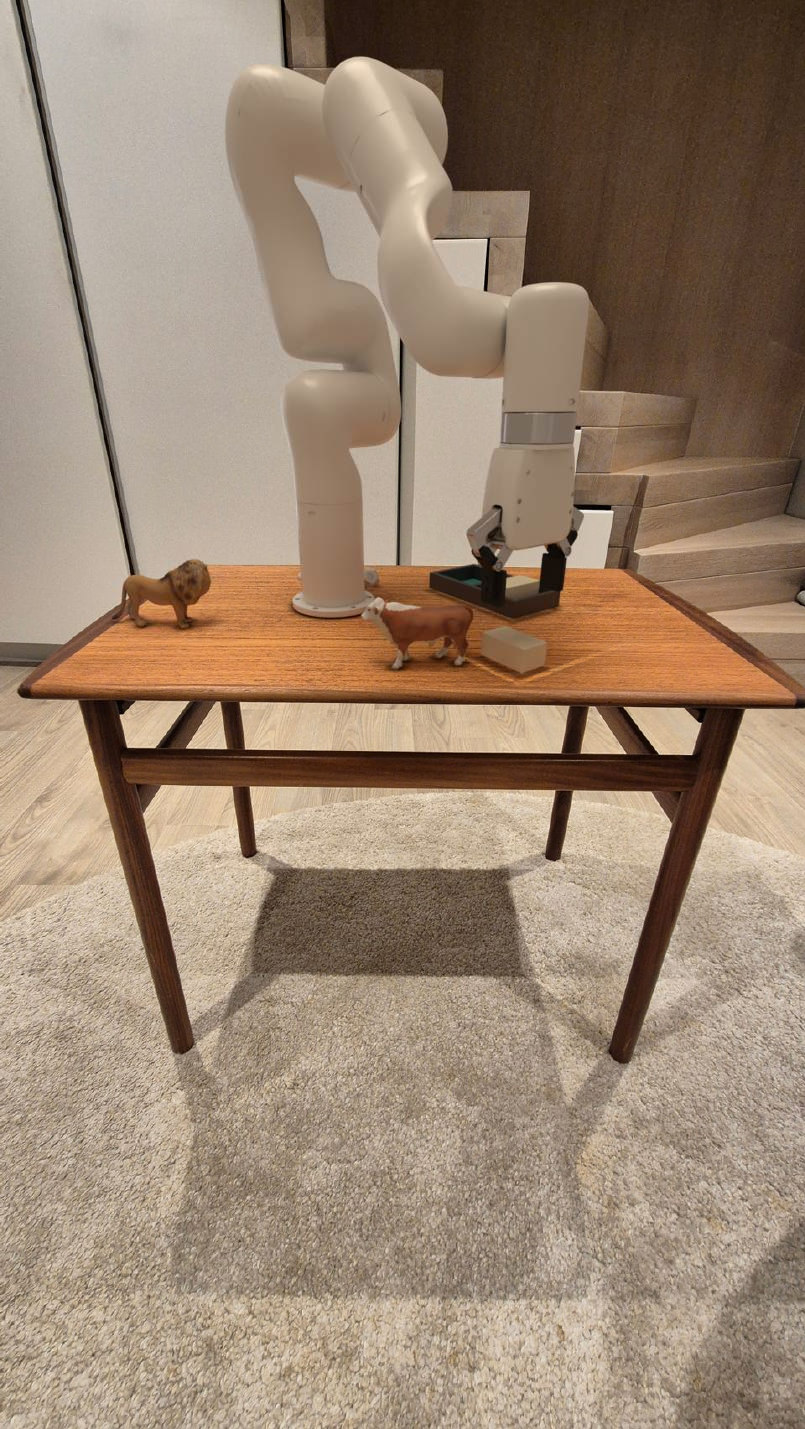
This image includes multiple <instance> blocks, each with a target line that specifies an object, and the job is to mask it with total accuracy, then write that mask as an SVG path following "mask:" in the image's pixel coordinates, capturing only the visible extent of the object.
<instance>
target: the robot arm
mask: <svg viewBox="0 0 805 1429" xmlns="http://www.w3.org/2000/svg"><path fill="white" fill-rule="evenodd" d="M226 104H227V105H226V111H225V124H224V125H225V126H224V129H225V130H224V135H225V138H224V139H225V152H226V159H227V165H228V171H229V174H230V178H231V183H232V185H233V186H232V187H233V190H234V191H235V195H236V197H237V201H238V203H239V206H240V208H241V211H242V214H243V216H244V219H245V221H246V225H247V228H248V230H249V234H250V236H251V239H252V244H253V247H254V250H255V255H256V260H257V264H258V269H259V274H260V278H261V282H262V287H263V291H264V294H265V299H266V302H267V303H266V304H267V308H268V312H269V316H270V321H271V324H272V328H273V332H274V336H275V338H276V341H277V344H278V346H279V348H280V350H281V351H282V352H283V354H285V355H286V356H287V357H288V358H290V359H293V360H295V361H301V362H306V363H307V362H308V363H319V364H320V363H321V364H337V365H338V364H339V369H322V368H321V369H309V370H305V371H302V372H299V373H297V374H295V375H293V377H292V378H290V380H288V381H287V383H286V384H285V386H284V388H283V390H282V393H281V396H280V415H281V420H282V425H283V429H284V433H285V437H286V441H287V444H288V450H289V455H290V460H291V468H292V475H293V487H294V489H293V490H294V499H295V512H296V525H297V526H296V528H297V540H298V554H299V566H300V569H299V570H300V572H298V573H297V575H296V580H298V581H299V582H300V584H301V592H298V593H296V594H295V595H294V596H293V597H292V608H293V609H294V610H295V611H296V612H298V613H299V614H302V615H306V616H310V617H316V618H326V619H327V618H329V619H330V618H335V619H336V618H346V617H347V618H348V617H353V616H357V615H362V614H363V613H364V612H365V610H366V609H367V606H368V605H369V604H371V603H372V602H373V601H374V600H375V599H376V598H375V596H374V594H373V593H371V592H370V591H368V590H366V589H365V588H364V569H365V552H364V550H365V549H364V510H363V509H364V505H363V503H364V502H363V501H364V500H363V485H362V479H361V475H360V472H359V468H358V467H357V464H356V463H355V460H354V458H353V455H352V453H351V451H350V449H359V448H369V447H377V446H382V445H384V444H387V443H388V442H389V441H391V440H392V439H393V438H394V437H395V435H396V433H397V431H398V430H399V426H400V423H401V418H402V401H401V400H402V399H401V392H400V386H399V381H398V376H397V370H396V365H395V358H394V352H393V347H392V341H391V336H390V330H389V327H388V321H387V318H386V314H387V315H388V317H389V320H390V321H391V323H392V325H393V327H394V328H395V330H396V332H397V334H398V336H399V339H400V340H401V341H402V344H403V345H404V346H405V349H406V350H407V352H408V353H409V354H410V356H411V357H412V359H413V360H414V361H415V362H416V363H417V364H418V365H419V366H420V367H421V369H423V370H425V371H427V372H428V373H429V374H432V375H434V376H438V377H448V378H450V377H451V378H471V379H484V380H485V379H488V380H489V379H490V380H493V379H501V378H502V380H503V381H502V393H501V394H502V395H501V409H500V410H501V413H500V426H499V440H498V441H499V444H498V447H494V448H493V450H492V454H491V457H490V461H489V465H488V470H487V474H486V480H485V487H484V493H483V500H482V501H483V502H482V510H481V517H480V518H479V519H478V520H477V521H476V522H475V523H473V524H472V525H471V526H470V527H468V528H467V530H466V538H467V541H468V544H469V546H470V548H471V555H472V557H473V558H474V559H475V560H476V561H477V565H478V566H480V567H482V582H481V601H482V602H484V603H487V604H490V605H493V606H496V607H502V606H504V604H505V593H506V580H507V574H508V571H507V570H505V569H504V567H505V566H506V563H507V562H508V560H509V558H510V557H511V555H512V554H513V552H514V551H523V550H528V549H532V548H539V547H544V548H545V550H546V552H543V553H542V556H541V564H540V574H539V581H540V582H539V585H540V586H541V587H542V588H546V589H550V590H553V591H557V592H559V591H561V592H562V591H563V590H564V586H565V577H566V570H567V562H568V557H569V556H570V555H571V554H572V551H573V550H572V546H573V545H574V543H575V542H576V540H577V539H578V536H579V534H578V532H579V530H580V529H581V526H582V524H583V521H584V518H585V514H584V513H583V512H582V511H581V510H580V509H578V508H577V507H576V506H574V500H575V483H576V482H575V481H576V461H575V446H574V443H575V435H576V425H577V417H578V408H579V400H580V391H581V382H582V374H583V365H584V355H585V348H586V347H585V346H586V338H587V331H588V330H587V329H588V322H589V313H590V312H589V311H590V297H589V294H588V291H587V290H586V289H585V288H584V287H583V286H582V285H579V284H576V283H572V282H561V281H560V282H559V281H551V282H539V283H531V284H527V285H524V286H521V287H520V288H518V289H517V290H515V291H514V292H513V294H512V295H506V294H505V295H504V294H499V293H494V292H489V291H485V290H480V289H475V288H470V287H467V286H460V285H457V284H456V283H455V281H454V279H453V278H452V276H451V275H450V273H449V271H448V269H447V267H446V266H445V264H444V262H443V260H442V258H441V257H440V255H439V253H438V251H437V249H436V247H435V244H434V243H433V241H434V240H435V239H436V238H437V236H438V235H439V234H440V233H441V231H442V230H443V229H444V227H445V225H446V224H447V221H448V220H449V218H450V214H451V212H452V208H453V203H454V190H453V185H452V181H451V180H450V178H449V176H448V174H447V171H446V170H445V168H444V167H443V164H444V162H445V159H446V155H447V152H448V143H449V142H448V141H449V135H448V134H449V133H448V132H449V130H448V124H447V118H446V114H445V111H444V107H443V106H442V103H441V102H440V100H439V98H438V96H437V95H436V94H435V93H434V92H433V90H431V89H430V88H429V87H428V86H426V85H425V84H423V83H422V82H419V81H418V80H416V79H414V78H412V77H410V76H409V75H407V74H405V73H403V72H402V71H399V70H397V69H395V68H393V67H392V66H390V65H388V64H386V63H384V62H382V61H380V60H378V59H375V58H371V57H369V56H353V57H350V58H347V59H345V60H343V61H342V62H340V63H339V64H338V65H337V66H336V67H335V68H334V69H333V70H332V71H331V72H330V74H329V76H328V78H327V79H326V82H325V83H324V84H323V83H321V82H319V81H318V80H315V79H313V78H311V77H309V76H307V75H304V74H302V73H300V72H297V71H295V70H293V69H290V68H287V67H284V66H281V65H275V64H269V63H258V64H257V63H256V64H254V65H250V66H248V67H246V68H245V69H243V70H242V71H240V72H239V74H238V75H237V77H236V78H235V80H234V81H233V83H232V86H231V88H230V90H229V95H228V99H227V103H226ZM295 177H296V178H299V179H303V180H305V181H309V182H312V183H315V184H319V185H322V186H325V187H329V188H332V189H336V190H339V191H344V192H350V193H355V194H356V196H357V197H358V199H359V201H360V203H361V205H362V207H363V209H364V210H365V212H366V214H367V216H368V218H369V220H370V223H371V224H372V226H373V227H374V230H375V231H376V233H377V235H378V237H379V242H378V249H377V258H376V259H377V260H376V262H377V263H376V264H377V282H378V289H379V293H380V298H381V301H382V304H383V306H382V305H381V302H380V301H379V300H378V298H377V296H376V295H375V294H374V292H372V291H371V290H370V289H369V288H368V287H367V286H365V285H363V284H361V283H358V282H354V281H351V280H350V281H349V280H344V279H339V278H336V277H335V276H334V275H333V274H332V272H331V269H330V267H329V263H328V259H327V256H326V250H325V245H324V240H323V236H322V235H323V234H322V232H321V229H320V226H319V224H318V220H317V219H316V216H315V214H314V211H313V210H312V208H311V207H310V205H309V203H308V201H307V200H306V198H305V196H304V194H302V192H301V190H300V189H299V187H298V185H297V184H296V180H295ZM383 307H384V309H383ZM384 310H385V311H386V314H385V311H384ZM497 550H499V551H498V553H497V554H496V552H497Z"/></svg>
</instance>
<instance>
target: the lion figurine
mask: <svg viewBox="0 0 805 1429" xmlns="http://www.w3.org/2000/svg"><path fill="white" fill-rule="evenodd" d="M211 585H212V579H211V575H210V571H209V569H208V564H207V563H204V561H202V560H200V559H198V558H191V559H187V560H185V561H184V562H182V563H181V564H179V565H178V566H177V567H175V568H174V569H172V570H169V571H168V572H166V573H165V574H164V576H163V577H160V578H151V577H148V576H146V575H142V574H133V575H129V576H128V577H126V579H125V580H124V582H123V585H122V589H121V604H120V608H119V610H118V612H117V613H115V614H114V615H113V616H111V618H110V619H111V620H119V619H120V618H121V616H123V613H124V610H125V607H126V602H127V597H128V600H129V601H128V602H127V614H128V617H129V618H130V619H133V620H134V621H135V623H136V626H137V627H141V628H143V627H145V626H147V625H148V624H147V621H145V620H142V619H141V617H140V613H139V610H140V606H141V603H143V602H144V601H145V600H147V601H149V602H150V603H152V604H154V605H157V606H171V607H172V609H173V610H174V614H175V616H176V621H177V624H178V626H179V628H181V629H182V630H183V629H184V630H185V629H188V628H189V627H190V624H189V623H191V622H192V621H193V617H192V616H188V606H194V605H196V604H198V602H199V600H200V598H201V597H203V596H205V595H206V594H207V593H208V592H209V591H210V588H211Z"/></svg>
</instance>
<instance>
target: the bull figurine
mask: <svg viewBox="0 0 805 1429" xmlns="http://www.w3.org/2000/svg"><path fill="white" fill-rule="evenodd" d="M360 617H361V620H362V621H363V622H371V624H372V625H373V626H374V627H376V628H378V629H379V630H380V631H381V633H382V636H383V637H384V638H385V639H386V640H387V641H388V642H389V643H390V644H391V645H393V646H395V647H397V651H396V654H397V657H396V659H395V662H394V663H393V664H392V665H391V669H392V670H399V669H400V668H402V667H403V662H406V661H407V660H408V659H411V658H410V657H411V655H410V652H409V646H410V645H411V644H413V643H422V644H423V643H424V644H428V647H429V648H433V647H434V646H435V644H436V643H437V642H439V641H440V640H441V639H443V638H444V640H443V643H442V646H441V648H440V649H439V651H437V652H435V654H434V655H433V658H434V659H441V658H442V657H443V656H444V657H445V656H447V654H448V651H449V649H450V647H451V646H452V647H453V649H454V650H456V649H457V650H458V655H457V658H456V659H455V660H454V662H453V665H454V666H456V667H459V666H462V664H463V662H466V658H465V657H466V653H467V650H468V649H469V646H470V644H469V642H468V640H467V634H468V632H469V630H470V628H471V624H472V622H473V620H474V611H473V609H472V608H471V607H470V606H469V605H467V604H464V603H462V604H450V605H437V606H436V605H435V606H420V605H419V606H418V605H413V604H403V603H401V602H399V601H398V602H397V601H391V600H390V599H388V598H387V599H385V600H384V599H383V598H382V597H379V596H378V597H376V598H375V600H374V601H373V602H372V603H371V604H369V605H368V606H367V609H366V610H365V612H364V613H361V614H360Z"/></svg>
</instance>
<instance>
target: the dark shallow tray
mask: <svg viewBox="0 0 805 1429" xmlns="http://www.w3.org/2000/svg"><path fill="white" fill-rule="evenodd" d="M514 576H515V575H512V574H509V573H507V578H509V577H514ZM481 582H482V567H480V566H478V563H471V564H466V565H461V566H456V567H451V568H445V569H440V570H436V571H430V572H429V586H428V587H429V588H430V589H432V590H435V591H437V592H440V593H443V594H445V595H448V596H451V597H454V598H456V599H459V600H461V601H463V602H467V603H470V604H472V605H475V606H477V607H479V608H483V609H486V610H488V611H491V612H494V613H496V614H498V615H501V616H504V617H507V618H509V619H513V620H515V619H519V618H521V617H525V616H528V615H533V614H535V613H540V612H544V611H546V610H551V609H554V608H558V607H559V606H560V600H561V592H562V591H559V592H557V591H553V590H550V589H546V588H542V587H541V586H540V585H539V592H538V594H535V595H531V596H527V597H523V598H519V599H515V600H514V599H512V598H509V597H506V596H505V604H504V606H502V607H496V606H493V605H490V604H487V603H484V602H482V601H481Z"/></svg>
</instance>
